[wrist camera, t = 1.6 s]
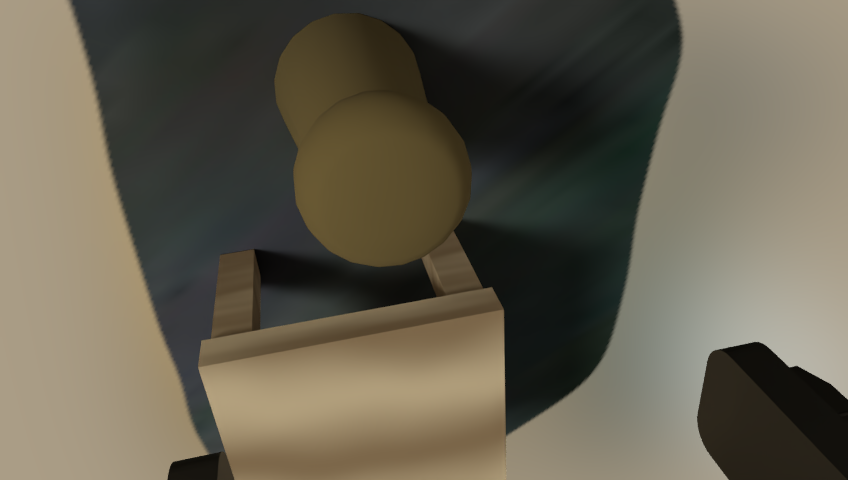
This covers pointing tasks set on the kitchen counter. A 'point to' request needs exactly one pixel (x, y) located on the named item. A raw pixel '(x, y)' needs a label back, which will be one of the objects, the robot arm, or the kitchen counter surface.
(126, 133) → the kitchen counter surface
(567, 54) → the kitchen counter surface
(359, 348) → the birch stool
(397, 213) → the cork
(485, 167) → the kitchen counter surface
